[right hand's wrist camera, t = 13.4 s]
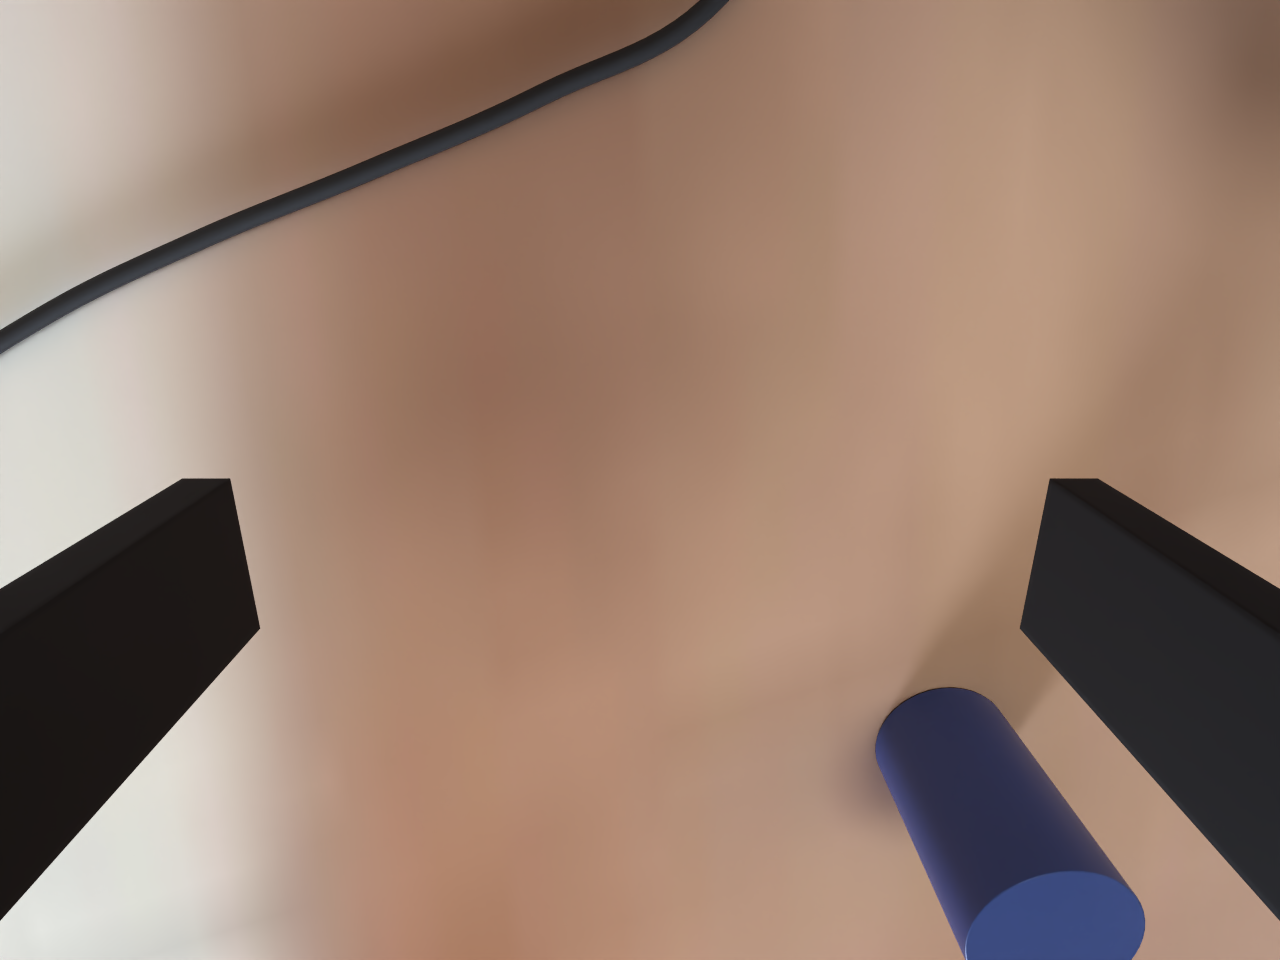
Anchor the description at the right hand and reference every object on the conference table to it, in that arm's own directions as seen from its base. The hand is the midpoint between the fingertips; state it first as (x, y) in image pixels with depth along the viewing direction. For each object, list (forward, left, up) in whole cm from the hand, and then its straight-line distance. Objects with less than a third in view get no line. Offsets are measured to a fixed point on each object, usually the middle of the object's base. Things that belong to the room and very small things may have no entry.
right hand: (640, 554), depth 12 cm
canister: (+11, -25, -22) cm, 35 cm away
